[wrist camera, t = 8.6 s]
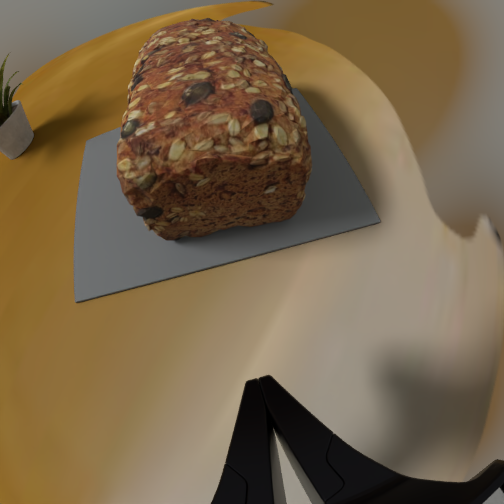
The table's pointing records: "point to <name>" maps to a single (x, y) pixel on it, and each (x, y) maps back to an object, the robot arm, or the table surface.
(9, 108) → the house plant
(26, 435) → the table surface
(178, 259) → the serving mat
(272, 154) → the bread
